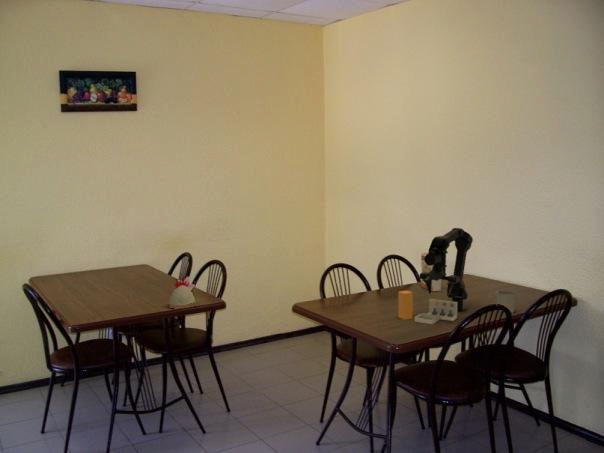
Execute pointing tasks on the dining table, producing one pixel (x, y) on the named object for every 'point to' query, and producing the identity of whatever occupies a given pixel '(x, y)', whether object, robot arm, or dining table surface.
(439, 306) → the breaker bank
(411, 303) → the cap
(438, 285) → the cracker box
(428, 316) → the frame
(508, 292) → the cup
